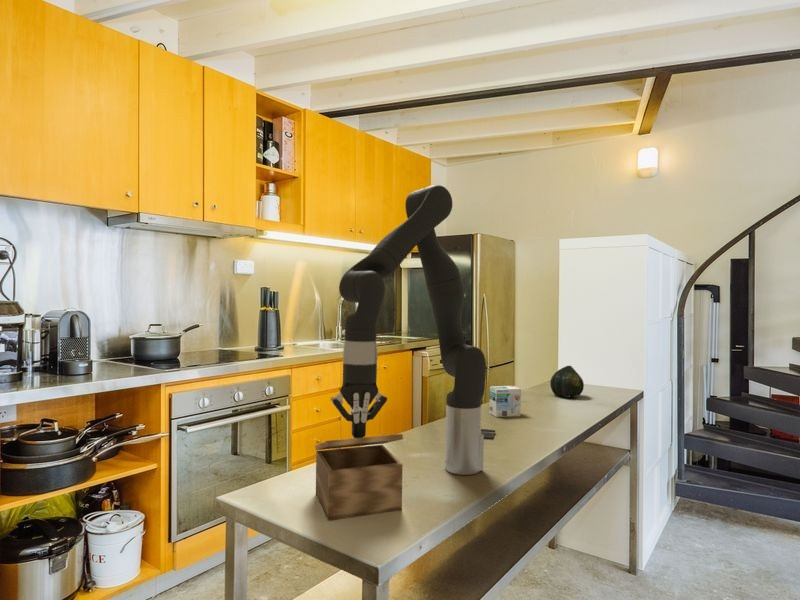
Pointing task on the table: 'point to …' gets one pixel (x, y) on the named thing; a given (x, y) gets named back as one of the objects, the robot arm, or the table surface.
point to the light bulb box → (505, 401)
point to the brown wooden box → (358, 481)
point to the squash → (567, 383)
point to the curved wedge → (488, 433)
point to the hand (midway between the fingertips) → (358, 438)
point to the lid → (358, 442)
